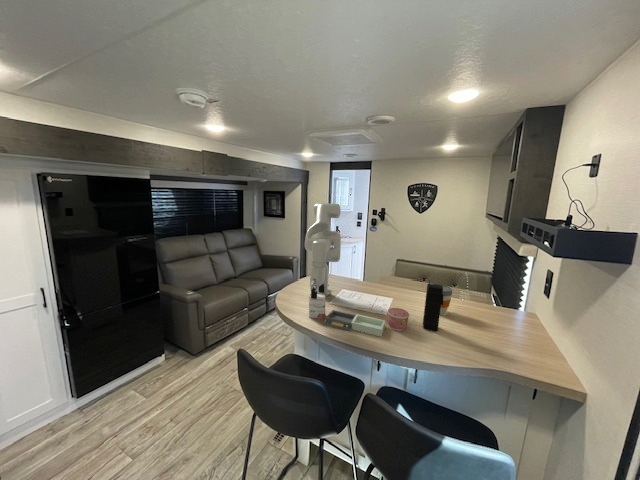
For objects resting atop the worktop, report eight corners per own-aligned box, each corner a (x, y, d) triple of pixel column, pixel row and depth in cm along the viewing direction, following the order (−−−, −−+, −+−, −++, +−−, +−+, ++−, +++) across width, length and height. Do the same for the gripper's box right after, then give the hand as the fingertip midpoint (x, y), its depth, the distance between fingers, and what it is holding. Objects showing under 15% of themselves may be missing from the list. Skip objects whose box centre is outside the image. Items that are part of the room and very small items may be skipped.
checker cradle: (333, 313, 141) (333, 308, 141) (358, 318, 136) (358, 313, 135) (323, 324, 129) (324, 319, 128) (350, 331, 123) (350, 325, 123)
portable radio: (438, 326, 131) (444, 280, 126) (440, 332, 125) (446, 284, 121) (422, 323, 133) (427, 278, 129) (423, 329, 128) (428, 281, 123)
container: (385, 329, 126) (386, 314, 125) (387, 320, 136) (388, 306, 134) (407, 334, 122) (409, 318, 121) (407, 324, 132) (409, 309, 131)
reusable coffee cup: (443, 319, 139) (447, 293, 137) (421, 310, 148) (424, 286, 146) (453, 312, 147) (456, 288, 145) (431, 305, 157) (434, 282, 154)
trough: (356, 320, 134) (356, 314, 134) (384, 326, 128) (385, 320, 128) (350, 329, 125) (351, 322, 125) (381, 336, 119) (381, 329, 119)
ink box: (325, 314, 140) (326, 294, 138) (324, 318, 135) (325, 297, 133) (309, 313, 141) (310, 293, 138) (308, 317, 136) (309, 296, 134)
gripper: (318, 259, 142) (317, 289, 144) (304, 266, 126) (304, 299, 129) (331, 261, 139) (330, 291, 141) (318, 268, 123) (317, 302, 126)
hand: (317, 295), depth 135 cm, fingers open, 9 cm apart
